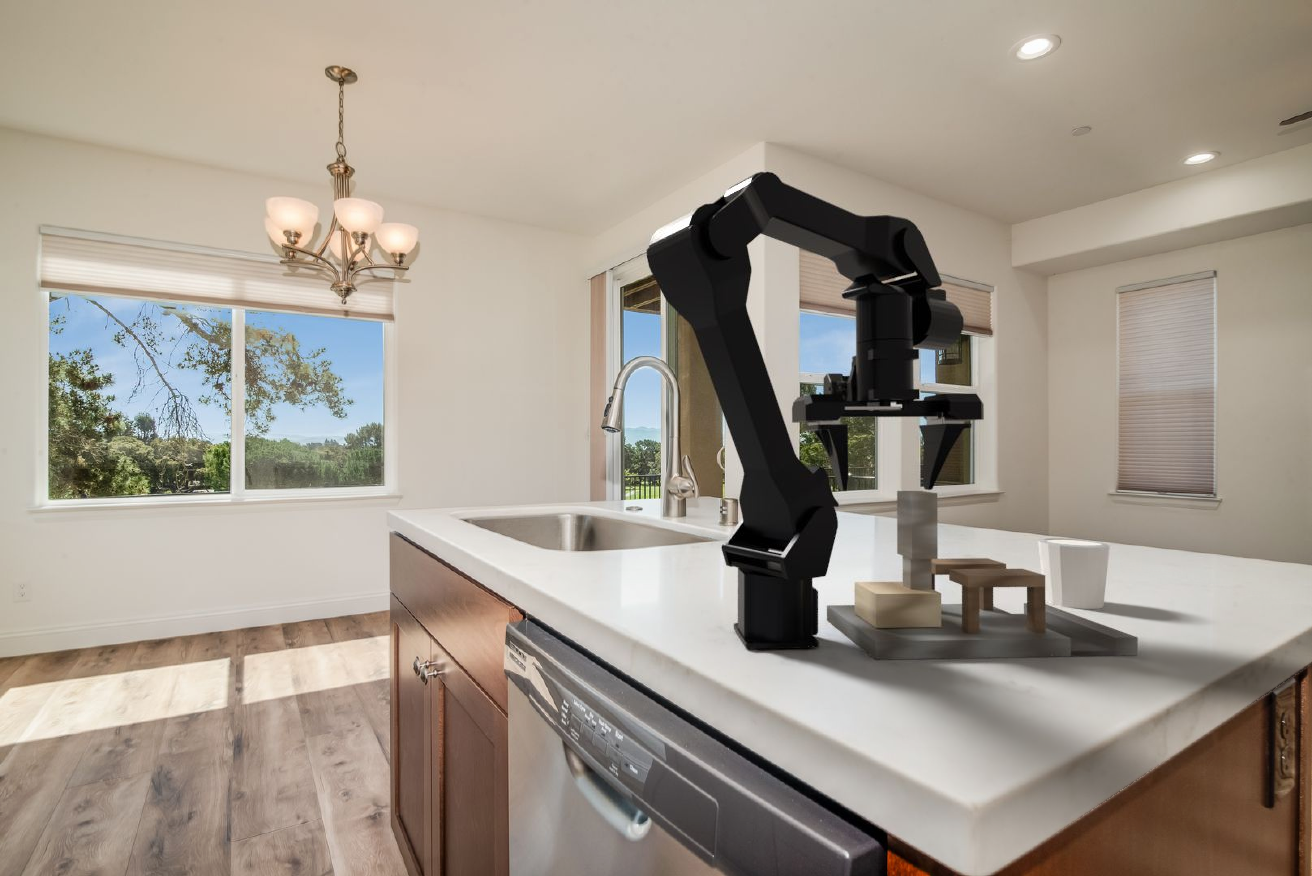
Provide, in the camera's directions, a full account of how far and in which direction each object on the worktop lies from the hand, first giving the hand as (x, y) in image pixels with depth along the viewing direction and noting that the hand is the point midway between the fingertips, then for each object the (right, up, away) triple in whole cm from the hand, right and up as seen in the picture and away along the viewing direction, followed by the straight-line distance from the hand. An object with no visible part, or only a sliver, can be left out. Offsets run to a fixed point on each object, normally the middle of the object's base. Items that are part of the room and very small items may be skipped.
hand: (885, 490), depth 67 cm
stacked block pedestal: (-2, -11, -8) cm, 14 cm away
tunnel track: (+4, -13, -8) cm, 16 cm away
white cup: (+24, -14, +5) cm, 28 cm away
